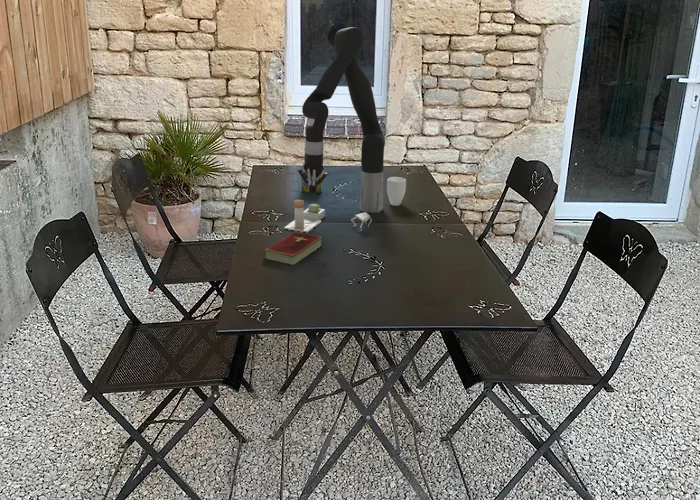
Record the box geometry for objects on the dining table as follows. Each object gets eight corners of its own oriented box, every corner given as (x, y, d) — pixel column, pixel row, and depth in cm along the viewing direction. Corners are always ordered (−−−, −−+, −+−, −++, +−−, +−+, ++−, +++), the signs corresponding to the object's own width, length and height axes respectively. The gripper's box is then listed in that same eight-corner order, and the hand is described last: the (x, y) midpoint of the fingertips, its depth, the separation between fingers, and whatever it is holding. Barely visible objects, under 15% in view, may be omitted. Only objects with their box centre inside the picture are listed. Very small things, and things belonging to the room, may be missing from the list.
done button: (320, 211, 275) (320, 204, 274) (316, 214, 271) (316, 207, 270) (311, 210, 276) (311, 203, 275) (306, 213, 272) (306, 206, 271)
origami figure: (349, 223, 270) (349, 211, 268) (369, 222, 271) (370, 211, 269) (353, 233, 259) (353, 221, 257) (374, 233, 260) (375, 221, 258)
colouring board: (321, 222, 270) (321, 219, 269) (307, 233, 257) (307, 230, 257) (298, 218, 273) (298, 216, 272) (284, 229, 260) (284, 227, 260)
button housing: (324, 216, 277) (324, 209, 275) (318, 221, 270) (318, 214, 269) (309, 213, 279) (309, 207, 278) (302, 218, 273) (302, 211, 271)
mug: (404, 207, 291) (406, 182, 287) (385, 206, 291) (387, 181, 287) (404, 199, 302) (406, 174, 298) (386, 198, 303) (387, 174, 298)
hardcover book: (263, 259, 232) (263, 248, 231) (294, 241, 250) (294, 230, 249) (293, 266, 228) (293, 255, 226) (322, 247, 245) (322, 236, 244)
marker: (305, 225, 262) (305, 200, 259) (301, 228, 259) (301, 203, 256) (297, 224, 264) (296, 199, 260) (292, 226, 260) (292, 201, 257)
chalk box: (321, 193, 307) (321, 161, 301) (301, 192, 307) (301, 161, 301) (322, 187, 315) (322, 157, 310) (302, 187, 315) (303, 156, 310)
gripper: (333, 152, 266) (331, 193, 273) (302, 147, 270) (301, 188, 277) (325, 156, 260) (323, 198, 266) (294, 151, 264) (294, 193, 270)
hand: (312, 193), depth 271 cm, fingers closed
